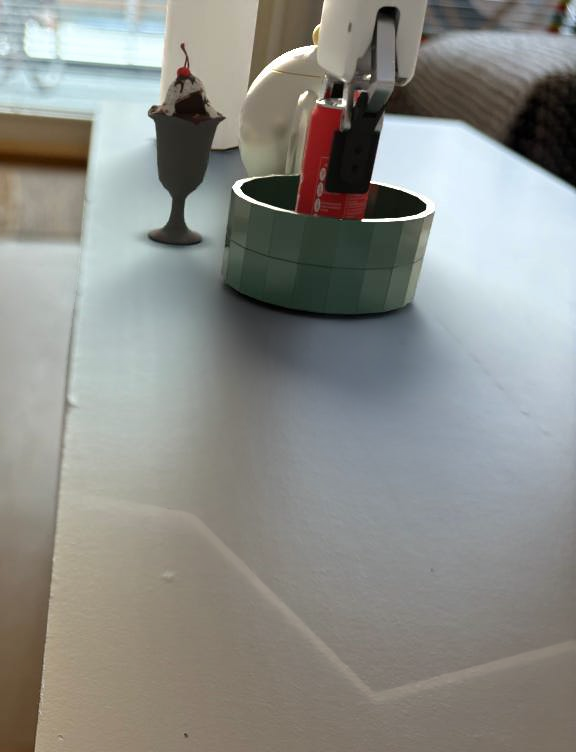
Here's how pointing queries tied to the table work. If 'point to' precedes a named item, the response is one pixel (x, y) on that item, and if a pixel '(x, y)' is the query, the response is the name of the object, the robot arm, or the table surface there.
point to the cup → (212, 55)
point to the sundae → (183, 148)
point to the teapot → (280, 112)
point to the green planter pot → (325, 248)
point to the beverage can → (325, 167)
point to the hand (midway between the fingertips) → (336, 180)
